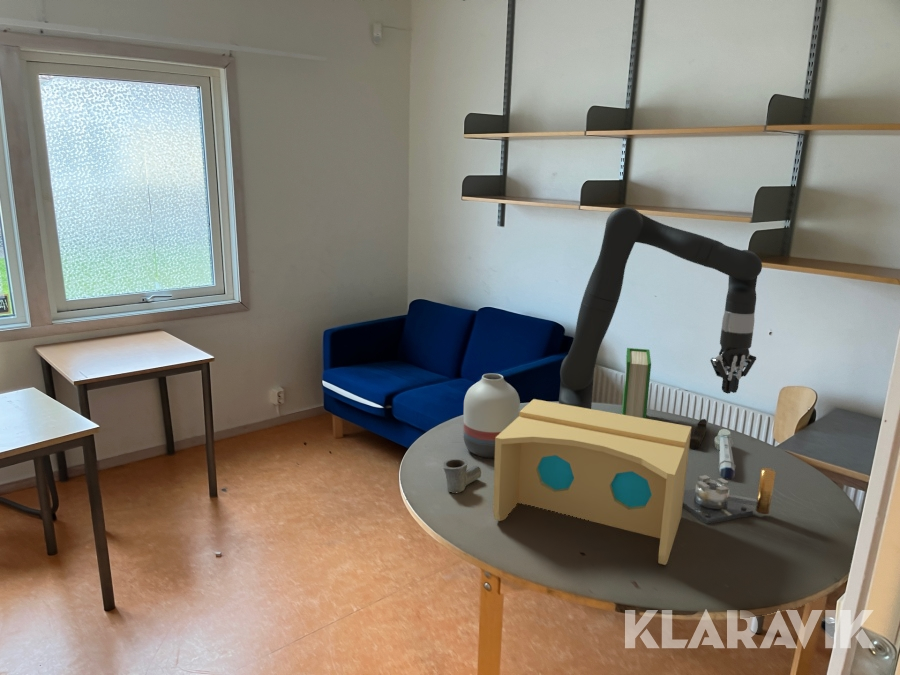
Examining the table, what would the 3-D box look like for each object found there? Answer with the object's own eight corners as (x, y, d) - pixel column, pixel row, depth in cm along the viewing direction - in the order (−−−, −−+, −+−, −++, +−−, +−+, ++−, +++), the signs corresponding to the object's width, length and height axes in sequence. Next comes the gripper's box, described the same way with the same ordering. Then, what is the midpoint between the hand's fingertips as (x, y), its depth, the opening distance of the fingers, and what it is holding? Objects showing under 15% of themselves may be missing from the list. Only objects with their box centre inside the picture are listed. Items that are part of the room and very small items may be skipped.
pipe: (485, 482, 177) (485, 456, 175) (453, 499, 168) (453, 471, 166) (468, 475, 181) (469, 449, 179) (436, 491, 172) (436, 463, 170)
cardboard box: (681, 517, 161) (691, 426, 155) (664, 572, 139) (675, 469, 133) (529, 481, 178) (533, 399, 172) (492, 526, 156) (495, 432, 150)
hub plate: (706, 524, 158) (707, 518, 157) (670, 497, 171) (670, 492, 170) (752, 515, 162) (753, 509, 162) (713, 489, 175) (714, 484, 175)
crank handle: (693, 504, 164) (698, 464, 161) (695, 490, 171) (699, 452, 168) (770, 519, 157) (776, 478, 154) (768, 504, 164) (774, 465, 162)
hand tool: (699, 451, 199) (701, 437, 198) (685, 448, 201) (687, 434, 200) (712, 432, 215) (714, 419, 214) (699, 429, 217) (701, 416, 216)
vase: (473, 435, 209) (475, 365, 203) (524, 443, 203) (527, 372, 197) (454, 456, 194) (456, 381, 188) (509, 465, 188) (512, 388, 182)
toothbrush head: (718, 465, 181) (716, 423, 203) (715, 485, 184) (713, 441, 205) (738, 468, 179) (734, 425, 201) (735, 488, 182) (731, 443, 204)
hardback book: (644, 433, 212) (651, 363, 206) (621, 431, 214) (627, 361, 208) (643, 414, 229) (649, 349, 222) (621, 412, 230) (627, 347, 224)
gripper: (747, 323, 172) (739, 385, 177) (705, 327, 168) (698, 390, 172) (769, 330, 165) (760, 394, 170) (726, 333, 161) (718, 399, 165)
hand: (729, 391), depth 171 cm, fingers closed
